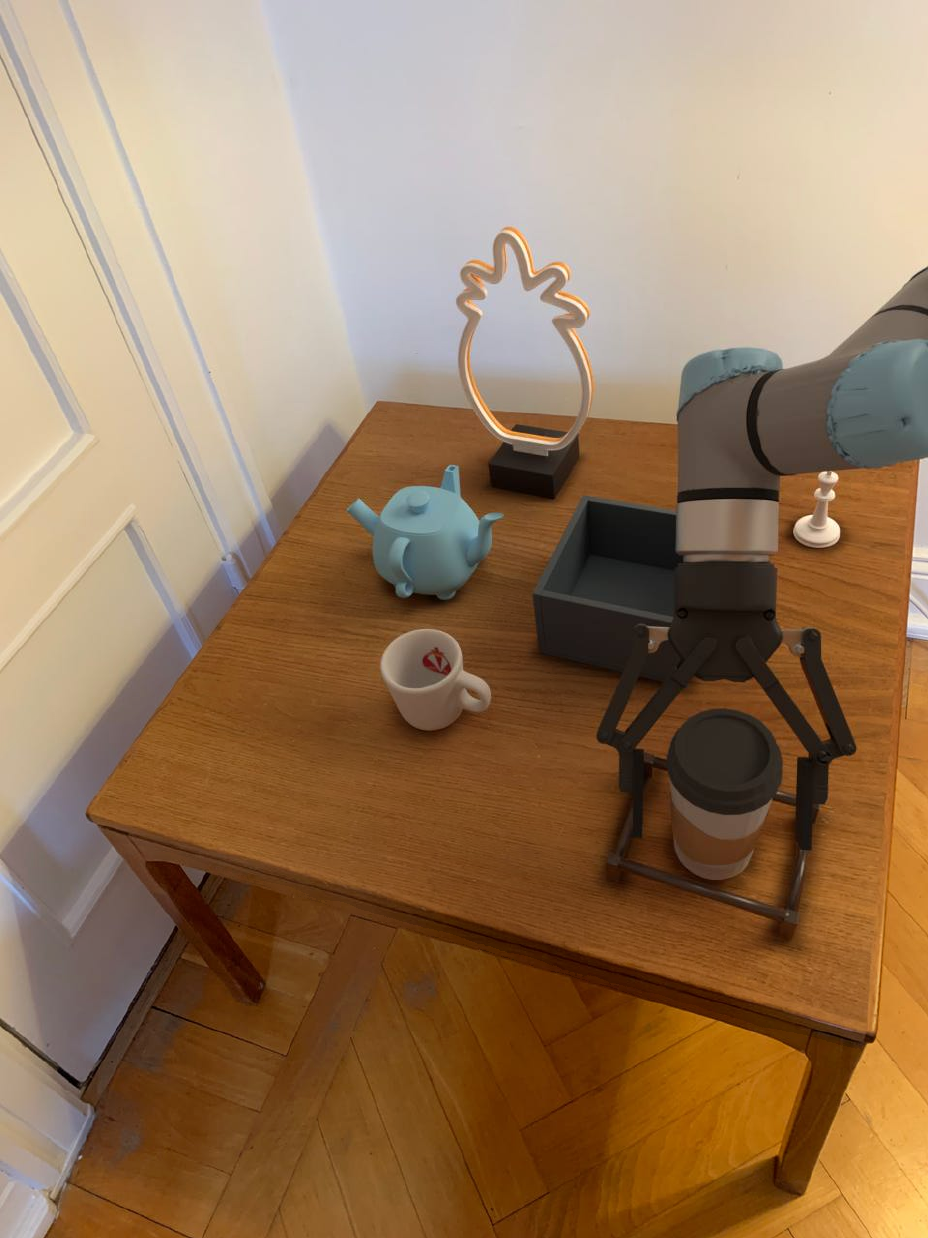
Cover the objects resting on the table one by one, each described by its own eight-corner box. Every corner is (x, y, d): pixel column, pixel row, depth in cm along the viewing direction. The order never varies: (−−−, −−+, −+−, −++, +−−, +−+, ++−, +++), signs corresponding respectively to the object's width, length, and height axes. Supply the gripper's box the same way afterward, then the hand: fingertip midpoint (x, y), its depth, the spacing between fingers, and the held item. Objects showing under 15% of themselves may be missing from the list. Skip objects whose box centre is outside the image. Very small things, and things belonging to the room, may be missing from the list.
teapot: (478, 517, 107) (465, 442, 99) (514, 588, 98) (503, 512, 89) (360, 554, 106) (337, 481, 97) (386, 629, 96) (363, 556, 88)
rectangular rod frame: (815, 818, 74) (821, 799, 71) (791, 940, 67) (797, 924, 65) (644, 770, 79) (644, 751, 77) (606, 879, 73) (605, 862, 70)
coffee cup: (785, 855, 72) (812, 754, 61) (712, 914, 69) (727, 820, 58) (711, 788, 77) (724, 684, 66) (641, 841, 74) (643, 742, 64)
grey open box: (722, 580, 94) (729, 518, 87) (686, 688, 85) (691, 627, 78) (585, 555, 100) (582, 494, 93) (538, 652, 91) (532, 593, 84)
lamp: (608, 462, 111) (603, 212, 88) (584, 505, 106) (571, 251, 83) (491, 442, 117) (458, 205, 94) (463, 481, 112) (421, 241, 89)
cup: (510, 695, 87) (501, 644, 82) (479, 758, 83) (468, 708, 77) (416, 670, 91) (402, 620, 86) (382, 729, 87) (364, 679, 81)
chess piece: (841, 522, 98) (858, 450, 90) (837, 551, 95) (855, 478, 87) (795, 516, 99) (809, 445, 92) (790, 544, 96) (803, 473, 89)
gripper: (881, 562, 67) (872, 836, 68) (572, 560, 72) (568, 815, 73) (909, 559, 60) (899, 866, 61) (564, 557, 65) (559, 841, 66)
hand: (718, 839), depth 67 cm, fingers open, 12 cm apart
